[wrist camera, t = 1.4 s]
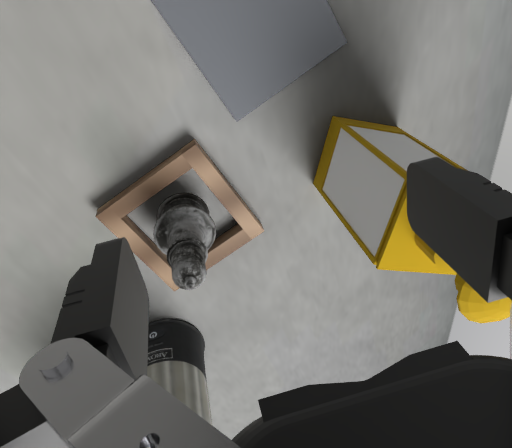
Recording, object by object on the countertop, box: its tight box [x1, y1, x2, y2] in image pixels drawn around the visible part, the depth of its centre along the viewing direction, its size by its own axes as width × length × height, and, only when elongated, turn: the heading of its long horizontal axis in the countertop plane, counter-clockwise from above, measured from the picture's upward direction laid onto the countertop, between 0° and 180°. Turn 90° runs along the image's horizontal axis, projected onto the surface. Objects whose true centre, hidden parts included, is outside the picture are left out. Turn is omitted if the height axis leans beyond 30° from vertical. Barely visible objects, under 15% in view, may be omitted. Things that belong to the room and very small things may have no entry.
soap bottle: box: [313, 116, 512, 323], centre depth 35 cm, size 7×13×24 cm, turn 78°
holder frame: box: [96, 139, 264, 291], centre depth 44 cm, size 12×12×2 cm
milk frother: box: [147, 319, 212, 425], centre depth 48 cm, size 14×16×15 cm
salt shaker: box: [154, 193, 216, 290], centre depth 39 cm, size 6×6×12 cm
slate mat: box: [151, 0, 347, 121], centre depth 36 cm, size 12×12×1 cm
